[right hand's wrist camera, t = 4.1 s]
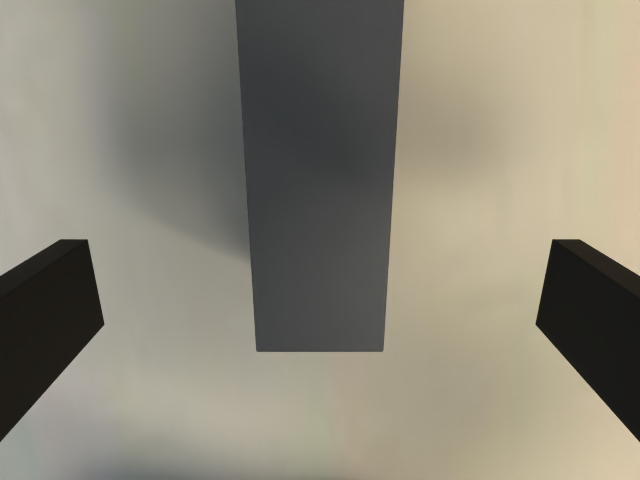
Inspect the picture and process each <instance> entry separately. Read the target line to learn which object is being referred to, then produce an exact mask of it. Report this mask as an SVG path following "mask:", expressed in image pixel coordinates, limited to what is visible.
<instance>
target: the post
mask: <svg viewBox="0 0 640 480" xmlns="http://www.w3.org/2000/svg"><path fill="white" fill-rule="evenodd" d="M235 2H236V18H237V35H238V52H239V69H240V85H241V102H242V119H243V136H244V153H245V169H246V186H247V203H248V220H249V236H250V253H251V270H252V287H253V303H254V320H255V337H256V351H257V352H382V351H383V347H384V330H385V313H386V296H387V279H388V263H389V246H390V229H391V212H392V196H393V179H394V162H395V145H396V129H397V112H398V95H399V78H400V62H401V45H402V28H403V11H404V0H235Z"/></svg>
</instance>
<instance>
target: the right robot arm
mask: <svg viewBox="0 0 640 480" xmlns="http://www.w3.org/2000/svg"><path fill="white" fill-rule="evenodd" d="M103 326H104V320H103V315H102V310H101V305H100V300H99V295H98V289H97V284H96V279H95V274H94V269H93V264H92V259H91V254H90V249H89V244H88V239H60V240H59V241H57V242H55V243H54V244H52V245H50V246H49V247H47V248H46V249H44V250H42V251H41V252H39V253H37V254H36V255H34V256H32V257H31V258H29V259H27V260H26V261H24V262H23V263H21V264H19V265H18V266H16V267H14V268H13V269H11V270H9V271H8V272H6V273H4V274H3V275H1V276H0V442H1V441H2V439H3V438H4V437H5V436H6V435H7V434H8V433H9V432H10V430H11V429H12V428H13V427H14V426H15V425H16V424H17V423H18V421H19V420H20V419H21V418H22V417H23V416H24V415H25V414H26V412H27V411H28V410H29V409H30V408H31V407H32V406H33V405H34V403H35V402H36V401H37V400H38V399H39V398H40V397H41V395H42V394H43V393H44V392H45V391H46V390H47V389H48V388H49V386H50V385H51V384H52V383H53V382H54V381H55V380H56V379H57V377H58V376H59V375H60V374H61V373H62V372H63V371H64V370H65V368H66V367H67V366H68V365H69V364H70V363H71V362H72V361H73V359H74V358H75V357H76V356H77V355H78V354H79V353H80V351H81V350H82V349H83V348H84V347H85V346H86V345H87V344H88V342H89V341H90V340H91V339H92V338H93V337H94V336H95V335H96V333H97V332H98V331H99V330H100V329H101V328H102V327H103ZM536 326H537V327H538V328H539V329H540V330H541V331H542V332H543V333H544V335H545V336H546V337H547V338H548V339H549V340H550V341H551V342H552V344H553V345H554V346H555V347H556V348H557V349H558V350H559V351H560V353H561V354H562V355H563V356H564V357H565V358H566V359H567V361H568V362H569V363H570V364H571V365H572V366H573V367H574V368H575V370H576V371H577V372H578V373H579V374H580V375H581V376H582V377H583V379H584V380H585V381H586V382H587V383H588V384H589V385H590V386H591V388H592V389H593V390H594V391H595V392H596V393H597V394H598V395H599V397H600V398H601V399H602V400H603V401H604V402H605V403H606V405H607V406H608V407H609V408H610V409H611V410H612V411H613V412H614V414H615V415H616V416H617V417H618V418H619V419H620V420H621V421H622V423H623V424H624V425H625V426H626V427H627V428H628V429H629V430H630V432H631V433H632V434H633V435H634V436H635V437H636V438H637V439H638V441H639V442H640V276H639V275H637V274H636V273H634V272H632V271H631V270H629V269H627V268H626V267H624V266H622V265H621V264H619V263H617V262H616V261H614V260H613V259H611V258H609V257H608V256H606V255H604V254H603V253H601V252H599V251H598V250H596V249H594V248H593V247H591V246H590V245H588V244H586V243H585V242H583V241H581V240H580V239H552V244H551V249H550V254H549V259H548V264H547V269H546V274H545V279H544V284H543V289H542V294H541V300H540V305H539V310H538V315H537V320H536Z"/></svg>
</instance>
